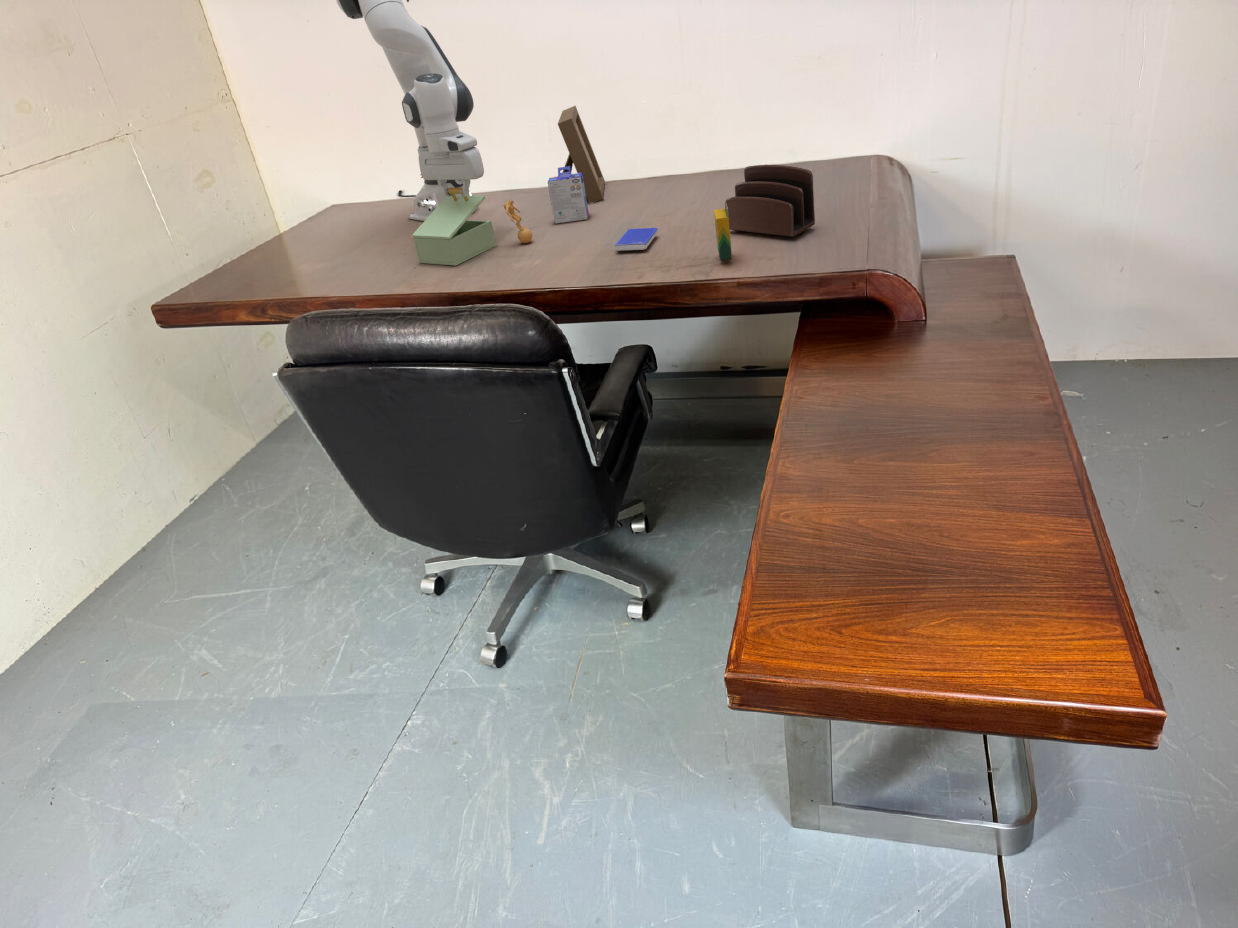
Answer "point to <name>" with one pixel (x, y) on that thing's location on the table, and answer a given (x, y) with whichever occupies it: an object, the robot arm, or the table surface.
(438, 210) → the chest lid
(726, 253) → the crayon box
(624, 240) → the hard drive
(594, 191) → the photo frame
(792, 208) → the letter holder
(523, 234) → the figurine
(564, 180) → the ink cartridge box
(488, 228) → the chest
